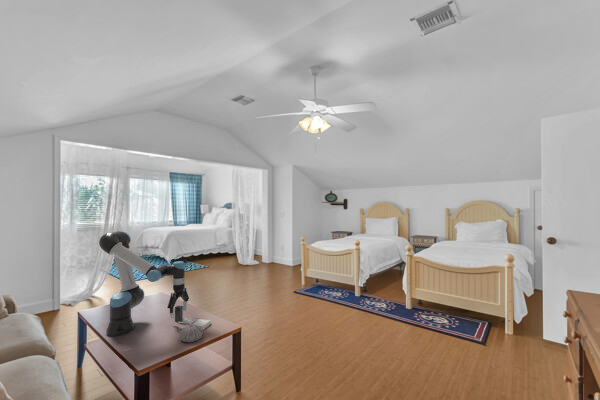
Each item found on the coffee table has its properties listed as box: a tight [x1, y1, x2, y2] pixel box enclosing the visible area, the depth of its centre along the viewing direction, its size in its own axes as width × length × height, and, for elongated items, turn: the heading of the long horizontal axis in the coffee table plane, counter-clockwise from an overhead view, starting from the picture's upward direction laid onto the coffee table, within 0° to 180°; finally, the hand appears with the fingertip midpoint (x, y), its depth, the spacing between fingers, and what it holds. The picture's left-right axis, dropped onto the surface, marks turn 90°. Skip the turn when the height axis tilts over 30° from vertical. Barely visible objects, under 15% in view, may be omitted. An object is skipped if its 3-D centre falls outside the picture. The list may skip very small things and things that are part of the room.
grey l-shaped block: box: [174, 305, 198, 325], centre depth 193 cm, size 7×15×10 cm, turn 77°
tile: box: [190, 318, 211, 331], centre depth 185 cm, size 10×3×9 cm
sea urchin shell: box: [179, 324, 204, 343], centre depth 168 cm, size 13×14×8 cm
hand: (178, 313), depth 195 cm, fingers open, 13 cm apart
